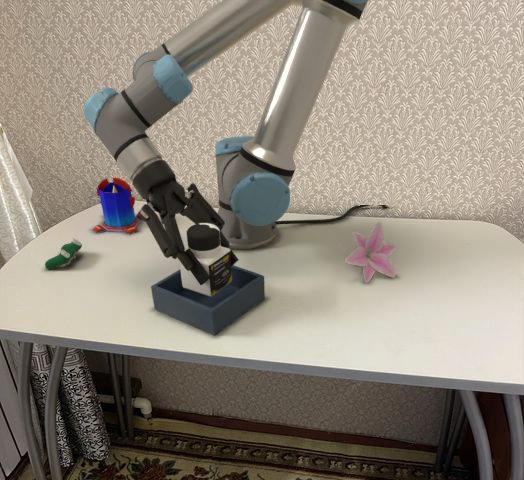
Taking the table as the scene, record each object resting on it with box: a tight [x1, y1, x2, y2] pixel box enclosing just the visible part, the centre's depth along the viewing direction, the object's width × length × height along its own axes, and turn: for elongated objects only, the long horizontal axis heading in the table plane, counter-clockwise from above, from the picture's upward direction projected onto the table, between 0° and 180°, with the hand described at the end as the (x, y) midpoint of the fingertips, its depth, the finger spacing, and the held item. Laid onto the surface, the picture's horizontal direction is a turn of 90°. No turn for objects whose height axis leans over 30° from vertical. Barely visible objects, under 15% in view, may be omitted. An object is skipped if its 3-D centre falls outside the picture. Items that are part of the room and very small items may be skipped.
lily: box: [344, 220, 398, 284], centre depth 119 cm, size 12×12×10 cm
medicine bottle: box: [179, 223, 232, 297], centre depth 106 cm, size 7×7×12 cm
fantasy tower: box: [92, 177, 144, 235], centre depth 140 cm, size 12×12×12 cm
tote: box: [150, 264, 266, 336], centre depth 110 cm, size 16×16×5 cm
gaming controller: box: [44, 238, 83, 270], centre depth 127 cm, size 9×4×6 cm
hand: (220, 272), depth 105 cm, fingers closed on medicine bottle, 8 cm apart
